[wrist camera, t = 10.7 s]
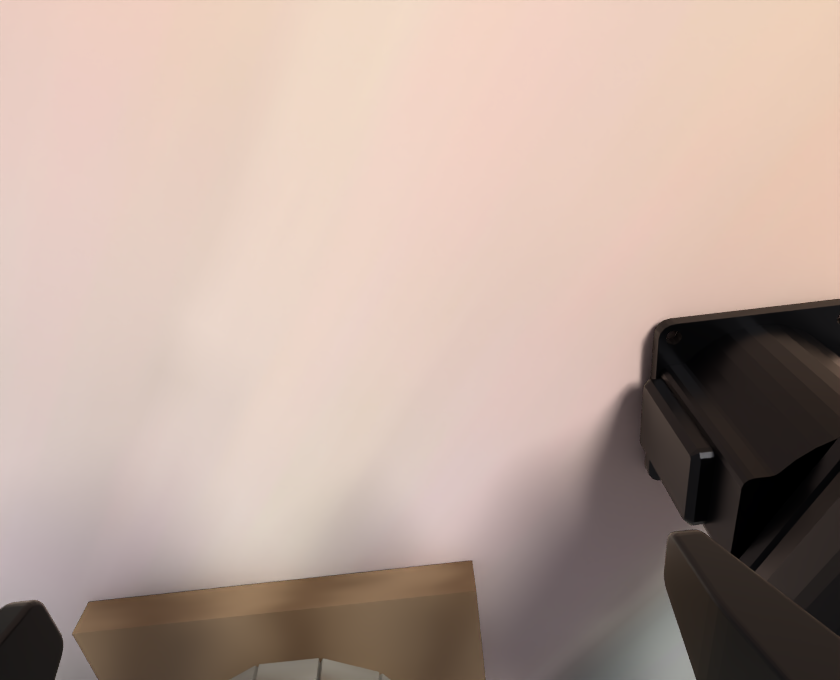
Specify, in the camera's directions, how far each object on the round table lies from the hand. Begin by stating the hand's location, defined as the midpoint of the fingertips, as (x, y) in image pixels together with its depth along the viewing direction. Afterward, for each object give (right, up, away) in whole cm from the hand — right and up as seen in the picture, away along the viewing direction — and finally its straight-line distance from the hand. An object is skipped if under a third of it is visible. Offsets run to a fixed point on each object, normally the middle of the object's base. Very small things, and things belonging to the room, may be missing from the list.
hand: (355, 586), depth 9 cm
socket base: (-4, -13, +21) cm, 25 cm away
